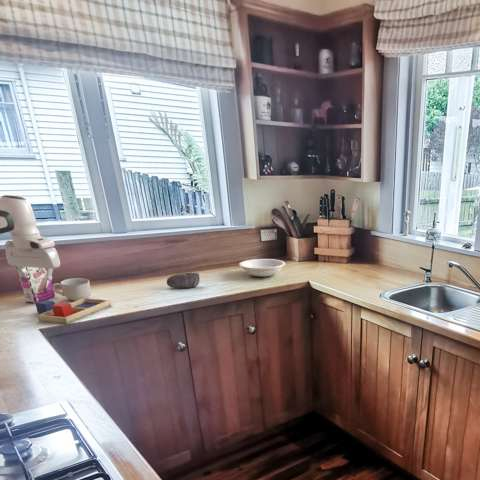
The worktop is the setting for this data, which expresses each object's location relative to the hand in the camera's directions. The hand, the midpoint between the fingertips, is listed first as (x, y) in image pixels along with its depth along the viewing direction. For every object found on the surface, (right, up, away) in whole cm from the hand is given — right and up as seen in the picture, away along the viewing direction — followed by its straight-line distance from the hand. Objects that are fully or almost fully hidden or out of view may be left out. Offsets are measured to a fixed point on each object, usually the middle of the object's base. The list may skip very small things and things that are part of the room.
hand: (38, 278), depth 179 cm
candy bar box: (-15, -5, +22) cm, 27 cm away
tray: (+11, -13, +6) cm, 18 cm away
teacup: (-1, -4, +24) cm, 24 cm away
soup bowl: (+70, +16, +71) cm, 101 cm away
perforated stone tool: (+38, +5, +45) cm, 59 cm away
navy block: (-1, -12, +6) cm, 14 cm away
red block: (+9, -14, +1) cm, 17 cm away
